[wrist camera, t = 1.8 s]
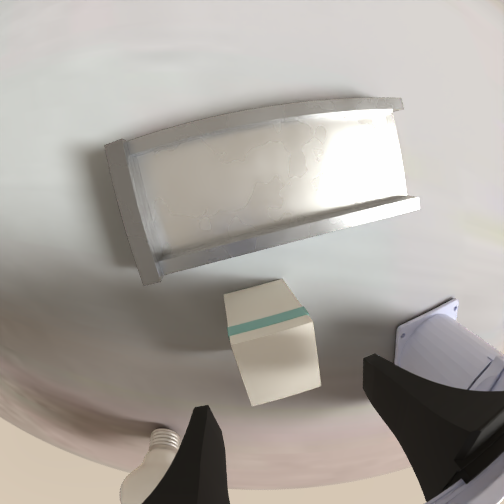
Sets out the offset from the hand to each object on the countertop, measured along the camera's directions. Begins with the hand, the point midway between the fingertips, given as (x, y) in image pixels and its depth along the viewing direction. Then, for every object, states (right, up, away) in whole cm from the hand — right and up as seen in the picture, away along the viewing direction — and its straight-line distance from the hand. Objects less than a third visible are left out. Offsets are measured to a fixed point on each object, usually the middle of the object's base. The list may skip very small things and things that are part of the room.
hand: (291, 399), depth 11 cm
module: (-1, +2, +8) cm, 8 cm away
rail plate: (0, +11, +6) cm, 13 cm away
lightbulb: (-10, -10, +10) cm, 17 cm away
